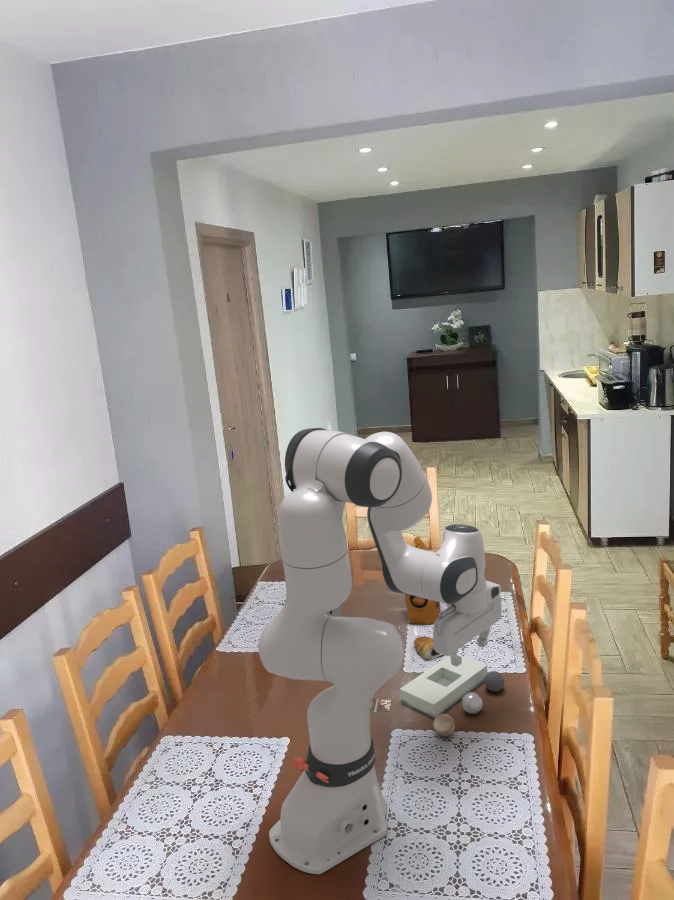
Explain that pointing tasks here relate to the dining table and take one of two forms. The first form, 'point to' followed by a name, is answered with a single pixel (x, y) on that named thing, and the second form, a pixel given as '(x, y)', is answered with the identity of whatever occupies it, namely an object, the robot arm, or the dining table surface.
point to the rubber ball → (494, 681)
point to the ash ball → (444, 724)
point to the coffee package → (421, 602)
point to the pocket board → (442, 685)
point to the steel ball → (472, 703)
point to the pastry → (426, 648)
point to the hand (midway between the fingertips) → (469, 654)
